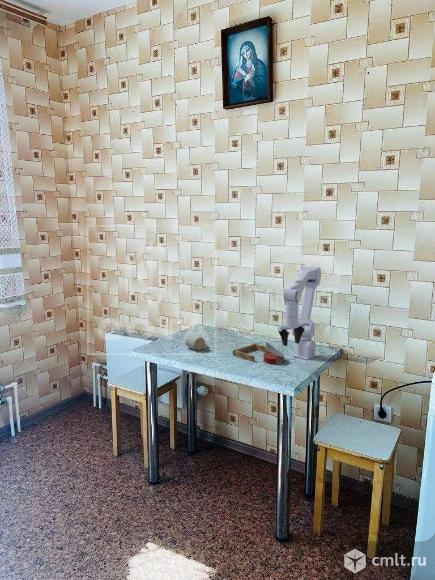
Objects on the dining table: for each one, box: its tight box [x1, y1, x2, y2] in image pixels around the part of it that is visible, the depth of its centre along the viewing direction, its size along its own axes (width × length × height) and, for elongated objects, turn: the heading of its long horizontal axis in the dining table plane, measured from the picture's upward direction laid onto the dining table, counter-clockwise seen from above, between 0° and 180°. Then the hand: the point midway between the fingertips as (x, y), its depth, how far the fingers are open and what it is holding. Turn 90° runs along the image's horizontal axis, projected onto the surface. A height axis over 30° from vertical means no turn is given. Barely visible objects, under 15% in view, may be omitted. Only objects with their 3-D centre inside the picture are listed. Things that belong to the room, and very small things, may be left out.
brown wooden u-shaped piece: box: [232, 343, 270, 362], centre depth 218 cm, size 13×16×2 cm
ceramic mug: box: [185, 332, 208, 351], centre depth 228 cm, size 11×8×8 cm
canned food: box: [263, 342, 285, 365], centre depth 208 cm, size 11×10×10 cm
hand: (291, 344), depth 200 cm, fingers open, 6 cm apart
